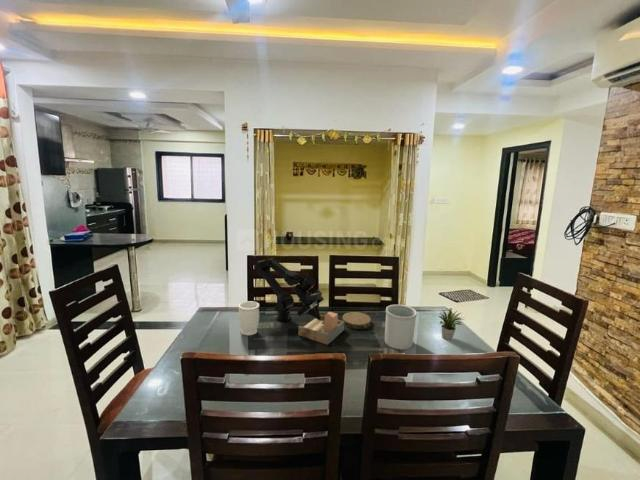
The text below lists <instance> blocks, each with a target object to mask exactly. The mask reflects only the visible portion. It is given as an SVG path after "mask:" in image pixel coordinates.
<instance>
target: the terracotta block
mask: <svg viewBox="0 0 640 480" xmlns="http://www.w3.org/2000/svg"><path fill="white" fill-rule="evenodd" d="M324 316H325V318H324V332H328V333H330V332H331V331H332V330H333V329H334V328H336V327H337V321H338V320H339V318H338V316H339V314H338V313H336V312H332V311H328V312H327V313H325V314H324Z"/></svg>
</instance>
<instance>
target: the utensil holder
mask: <svg viewBox="0 0 640 480" xmlns="http://www.w3.org/2000/svg"><path fill="white" fill-rule="evenodd" d="M417 314H418V312H417V310H416V309H415V308H413V307H411V306H408V305H404V304H390V305H388V306H386V308H385V322H384V323H385V325H384V327H385V328H384V342H385V344H386V345H387V346H388V347H390V348H393V349H396V350H409V349H411V347H413V341H414V335H415V327H416V319H417V316H418V315H417Z"/></svg>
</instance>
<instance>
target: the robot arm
mask: <svg viewBox="0 0 640 480" xmlns="http://www.w3.org/2000/svg"><path fill="white" fill-rule="evenodd" d="M253 269H254V271H255V272H256V273H257V274H258V275H260V276H261V277H263V278H264V280H265V281H266V283H267V284H268V286H269V287H270V289H271V290H272V292H273V293H274V295H275V296H276V305H275V306H274V310H275V311H276V312H277V314H276V315H277V317H276V318H275V320H276V321H279V322H281V323H282V322H283V323H287V322H288V321H289V320H291V319H292V317H291V310H290V309H292V308H293V306H294V304H295V303H294V302H295V300H294V296H293V295H292V294H291V293H293V292H294V293H295V295H296V296H297V298H298V302H301V303H302V305H303V306H302V307H301V308H299V309H298V310H297V313H296V314H297V315H298V316H299V317H301V316H302V315H304V314H308V315H310V316H312V317H313V318H314V319H315V318H317V319H318V320H320V319H321V316H320V315H321V314H320V309H319V306H320V303H321V302H322V301H323V300H325V299H324V297H323V296H322V295H323V293H322V291H321V290H320V289H316V290H315V292H314V293H312V292H310V290H311V289H312V288H313V287H314V286H315V285H316V282H317V281H316V279H315V278H314V277H313V276H310V275H309V274H305V275H304V276H302V275H300V273H298V272H296V271H293V270H290V269H288V268H287V267H286V266H284V265H283V264H281V263H280V262H278V261H277V260H276V259H275V258H272V257H271V258H267V259H263V260H259V261H255V262H254V264H253ZM271 269H272V270H273V271H274V272H275V273H277V274H278V275H280V276H281V277H282V278H283V281H284V282H285V283H286V284H287V285H288V286H290V287H291V289H290V291H287V292H286V291H284V289H283V288H282V286H281V285H280V283H279V281H278V280H277V279H276V277H275V276H274V275H273V273H272V272H271Z"/></svg>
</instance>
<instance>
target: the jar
mask: <svg viewBox="0 0 640 480" xmlns="http://www.w3.org/2000/svg"><path fill="white" fill-rule="evenodd" d="M259 308H260V303H259V302H257V301H252V300H248V301H243V302H242V301H241V302H240V303H239V304H238V314H237V315H238V316H237V317H238V323H239V327H240V333H241V334H242V335H243V336H254V335H255V334H257V333H258V329H257V328H258V327H259V321H260V309H259Z"/></svg>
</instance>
